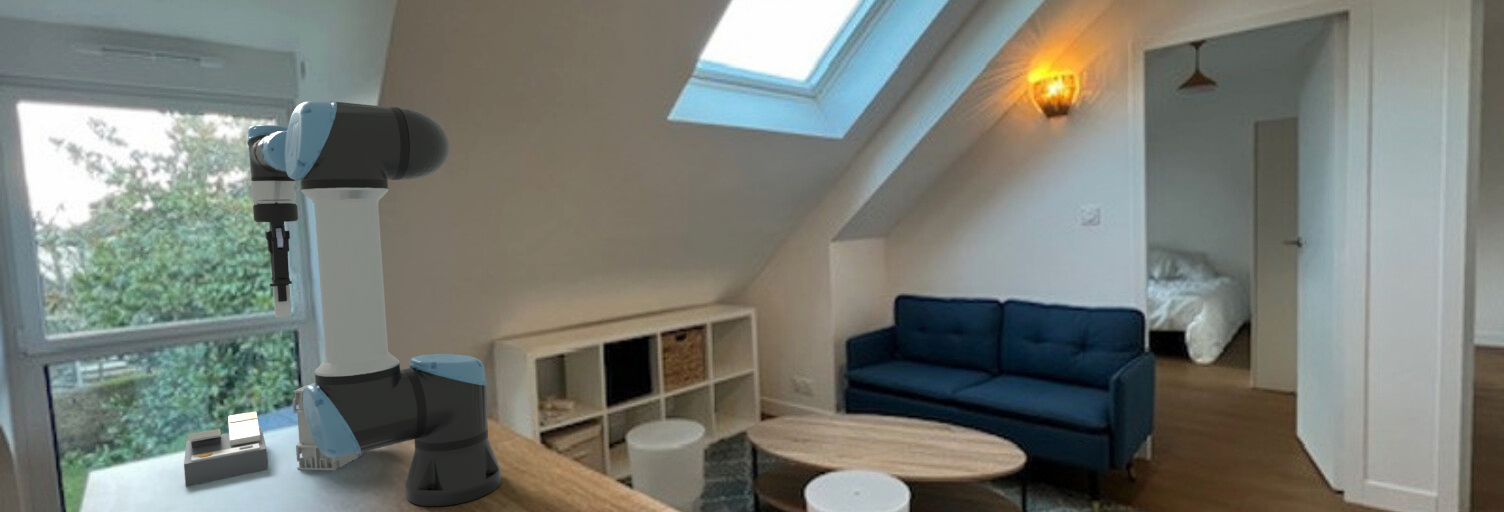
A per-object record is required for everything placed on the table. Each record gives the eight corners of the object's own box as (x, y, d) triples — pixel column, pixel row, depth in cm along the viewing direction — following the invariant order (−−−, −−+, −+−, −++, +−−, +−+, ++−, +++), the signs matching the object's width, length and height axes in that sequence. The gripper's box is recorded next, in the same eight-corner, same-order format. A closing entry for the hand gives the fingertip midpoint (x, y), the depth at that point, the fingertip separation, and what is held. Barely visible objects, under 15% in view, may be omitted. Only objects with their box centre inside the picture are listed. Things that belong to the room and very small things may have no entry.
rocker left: (220, 435, 130) (219, 427, 130) (188, 440, 127) (188, 433, 128) (220, 435, 138) (220, 428, 138) (191, 441, 135) (190, 434, 135)
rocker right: (260, 440, 134) (259, 434, 134) (230, 445, 131) (229, 439, 131) (256, 417, 142) (256, 411, 141) (228, 421, 139) (228, 415, 139)
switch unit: (267, 469, 131) (266, 443, 130) (185, 486, 124) (183, 459, 123) (263, 446, 143) (261, 423, 143) (188, 460, 136) (186, 435, 136)
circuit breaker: (382, 443, 144) (378, 372, 143) (334, 470, 130) (329, 391, 129) (348, 443, 145) (344, 372, 144) (297, 469, 131) (292, 390, 129)
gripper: (300, 202, 140) (308, 318, 142) (294, 202, 150) (301, 311, 152) (254, 202, 135) (262, 323, 137) (251, 203, 145) (259, 315, 147)
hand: (283, 316), depth 144 cm, fingers closed
